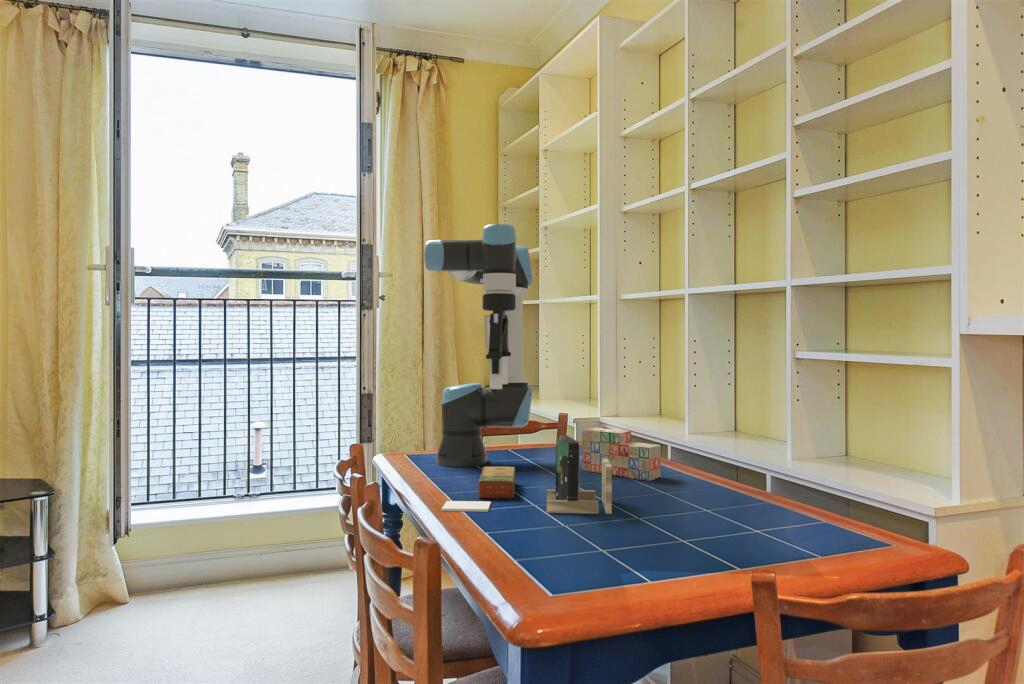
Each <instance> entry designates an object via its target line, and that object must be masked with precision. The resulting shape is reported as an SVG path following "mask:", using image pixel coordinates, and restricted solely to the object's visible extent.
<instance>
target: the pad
mask: <svg viewBox="0 0 1024 684" xmlns="http://www.w3.org/2000/svg"><path fill="white" fill-rule="evenodd" d="M491 505H492V501H489V500H487V501H483V500H482V501H478V500H477V501H475V500H471V501H469V500H446V502H445V503H444V504H443V506H442V507H441V512H472V513H473V512H477V513H478V512H483V513H486V512H487V513H488V512H489V511H490V507H491Z"/></svg>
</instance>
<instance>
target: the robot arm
mask: <svg viewBox="0 0 1024 684" xmlns="http://www.w3.org/2000/svg"><path fill="white" fill-rule="evenodd" d="M516 242H517V236H516V228H515V227H514V226H513V225H511V224H506V223H491V224H486V225H485V226H484V227H483V228H482V239H464V240H463V239H460V240H459V239H434V240H430V239H429V240H427V241H426V243H425V244H424V252H423V254H424V255H423V256H424V265H425V269H426V270H427V271H429V272H437V273H439V272H447V273H448V274H449V275H450V276H451V277H452V278H453V279H455V280H458V281H461V282H463V283H468V284H473V285H482V292H484V294H483V295H482V310H483V311H489V312H491V311H492V313H490V315H489V342H488V343H489V344H488V352H487V354H486V356H485V359H487V360H489V381H488V387H483V385H482V384H481V382H474V383H473V382H472V383H463V384H458V385H453V386H447V387H445V388H444V389H443V390H442V395H441V396H442V397H441V414H442V415H441V439H440V443H439V445H438V450H437V452H436V456H435V461H436V462H435V463H436V464H437V465H440V466H443V467H454V468H456V467H457V468H466V467H467V468H468V467H477V466H482V465H486V464H487V463H488V454H487V450H486V446H485V444H484V440H483V437H482V428H510V429H513V428H524V427H527V425H528V424H529V421H530V414H531V406H532V397H533V388H532V387H530V386H528V385H529V381H528V380H527V379H526V378H525V377H524V370H523V369H524V364H523V363H524V362H523V361H524V359H523V358H524V356H523V355H524V352H523V351H524V346H523V345H524V342H523V340H524V336H523V335H524V331H523V330H524V329H523V328H524V320H523V319H524V305H523V304H524V295H525V294H526V293H527V292H528V291H529V286H530V285H533V283H534V282H533V281H534V280H533V275H532V266H531V259H530V253H529V249H528V247H526V246H524V245H517V244H516Z"/></svg>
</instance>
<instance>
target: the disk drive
mask: <svg viewBox="0 0 1024 684" xmlns="http://www.w3.org/2000/svg"><path fill="white" fill-rule="evenodd" d="M555 446H556V449H555V450H556V451H555V453H556V454H555V455H556V457H555V490H556V494H555V495H556V500H567V501H578V500H579V490H580V466H581V465H580V464H581V463H580V461H581V459H580V458H581V451H580V442H579V441H578V440H576V439H574V438H572V437H570V436H569V435H566V434H559V435H556V445H555Z"/></svg>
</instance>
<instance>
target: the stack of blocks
mask: <svg viewBox="0 0 1024 684" xmlns="http://www.w3.org/2000/svg"><path fill="white" fill-rule="evenodd" d="M581 439H582V440H581V456H582V457H581V458H582V464H581V465H582V469H581V470H582V471H587V472H593V473H597V474H598V473H599V474H602V457H607V458H608V460H609V462H610V464H611V466H612V476H616V475H618V476H617V477H622V476H624V478H628V477H629V479H634V478H635V479H634V480H641V479H642V480H643V481H646V482H647V481H648V482H650V481H654V480H656V479H655V478H657V479H658V477H660V478H661V452H662V451H661V449H662V447H661V446H662V445H661V444H655V443H654V444H653V443H648V442H647V443H645V442H635V441H634V442H632V431H631V430H627V429H625V430H624V429H616V428H615V429H614V428H613V429H612V428H601V427H591V428H585V429H582V430H581ZM642 480H641V481H642Z"/></svg>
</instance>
